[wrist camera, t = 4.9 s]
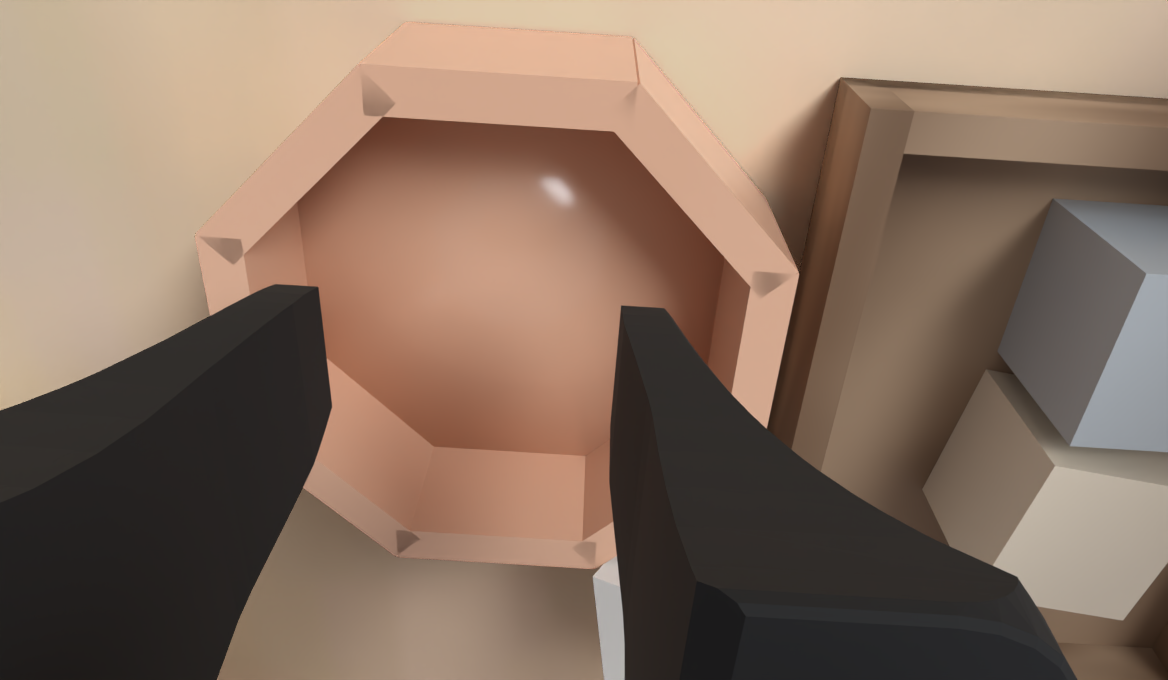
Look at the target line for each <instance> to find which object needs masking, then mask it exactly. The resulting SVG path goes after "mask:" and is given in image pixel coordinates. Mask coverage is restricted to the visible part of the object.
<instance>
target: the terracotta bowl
mask: <svg viewBox="0 0 1168 680" xmlns="http://www.w3.org/2000/svg"><path fill="white" fill-rule="evenodd" d="M195 234H196V235H195V241H196V246H197V251H198V256H199V262H200V267H201V272H202V277H203V282H204V287H205V292H206V298H207V303H208V308H209V313H210V316H211V315H213V314H215V313H217V312H218V311H220V310H222V309H224V308H226V307H228V306H230V305H232V304H233V303H235V302H237V301H239V300H241V299H243V298H245V297H247V296H249V295H251V294H253V293H255V292H257V291H259V290H261V289H264V288H266V287H269V286H271V285H274V284H283V285H299V286H316V287H318V288H319V296H320V305H321V314H322V322H323V331H324V339H325V348H326V357H327V365H328V374H329V382H330V391H331V400H332V409H331V413H330V416H329V419H328V423H327V426H326V429H325V433H324V436H323V439H322V442H321V445H320V448H319V451H318V454H317V457H316V460H315V463H314V465H313V467H312V470H311V472H310V474H309V476H308V478H307V480H306V482H305V484H304V486H303V488H304V489H305V490H307V491H308V492H309V493H311V494H312V495H313V496H315V497H316V498H317V499H319V500H320V501H322V502H323V503H324V504H326V505H327V506H328V507H330V508H331V509H332V510H334V511H335V512H336V513H338V514H339V515H340V516H342V517H343V518H344V519H346V520H347V521H348V522H350V523H351V524H352V525H354V526H355V527H356V528H358V529H359V530H360V531H362V532H363V533H365V534H366V535H367V536H369V537H370V538H371V539H373V540H374V541H375V542H377V543H378V544H379V545H381V546H382V547H383V548H385V549H386V550H387V551H389V552H390V553H391V554H393V555H394V556H395V557H396V556H397V557H401V558H418V559H435V560H451V561H468V562H484V563H501V564H518V565H534V566H551V567H567V568H584V569H594V567H595V568H598V567H600V566H601V565H603V564H604V563H606V562H608V561H609V560H611V559H613V558H614V557H616V556H617V553H616V544H615V534H614V525H613V515H612V505H611V495H610V485H609V464H610V422H611V411H612V400H613V389H614V378H615V367H616V356H617V345H618V334H619V323H620V313H621V305H622V306H638V307H655V308H665V309H666V311H667V312H668V313H669V314H670V315H671V317H672V318H673V319H674V321H675V322H676V324H677V325H678V327H679V328H680V330H681V331H682V332H683V334H684V335H685V337H686V338H687V339H688V341H689V342H690V344H691V345H692V346H693V348H694V349H695V350H696V352H697V353H698V354H699V356H700V357H701V358H702V359H703V361H704V362H705V363H706V365H707V366H708V367H709V368H710V369H711V371H712V372H713V373H714V374H715V375H716V377H717V378H718V379H719V380H720V381H721V383H722V384H723V385H724V386H725V387H726V389H727V390H728V391H729V392H730V393H731V394H732V395H733V396H734V397H735V398H736V399H737V400H738V401H739V402H740V403H741V404H742V405H743V406H744V407H745V408H746V409H747V411H748V412H749V413H750V414H751V415H752V416H753V417H754V418H756V419H757V420H758V421H759V422H760V423H761V424H762V425H763V426H764V427H765V428H766V429H767V425H768V420H769V416H770V411H771V406H772V401H773V397H774V392H775V387H776V382H777V378H778V373H779V368H780V363H781V359H782V354H783V349H784V344H785V340H786V335H787V330H788V325H789V321H790V316H791V311H792V306H793V302H794V297H795V292H796V287H797V283H798V278H799V273H798V269H797V267H796V265H795V262H794V260H793V258H792V256H791V253H790V251H789V249H788V247H787V244H786V242H785V240H784V238H783V235H782V233H781V231H780V229H779V226H778V224H777V222H776V220H775V217H774V215H773V213H772V211H771V208H770V206H769V204H768V202H767V199H766V198H765V196H764V195H763V194H762V193H761V192H760V190H759V189H758V188H757V187H756V185H755V184H754V183H753V182H752V181H751V179H750V178H749V177H748V176H747V175H746V173H745V172H744V171H743V170H742V168H741V167H740V166H739V165H738V164H737V162H736V161H735V160H734V159H733V157H732V156H731V155H730V154H729V153H728V151H727V150H726V149H725V148H724V147H723V145H722V144H721V143H720V142H719V140H718V139H717V138H716V137H715V136H714V134H713V133H712V132H711V131H710V129H709V128H708V127H707V126H706V125H705V123H704V122H703V121H702V120H701V118H700V117H699V116H698V115H697V114H696V112H695V111H694V110H693V109H692V108H691V106H690V105H689V104H688V103H687V101H686V100H685V99H684V98H683V97H682V95H681V94H680V93H679V92H678V90H677V89H676V88H675V87H674V86H673V84H672V83H671V82H670V81H669V80H668V78H667V77H666V76H665V75H664V73H663V72H662V71H661V70H660V69H659V67H658V66H657V65H656V64H655V62H654V61H653V60H652V59H651V58H650V56H649V55H648V54H647V53H646V51H645V50H644V49H643V48H642V47H641V45H640V44H639V43H638V42H637V41H636V39H635V38H633V39H632V37H628V36H613V35H598V34H583V33H568V32H552V31H537V30H522V29H507V28H491V27H476V26H461V25H446V24H431V23H415V22H406V23H404V24H402V25H401V26H400V27H399V28H398V29H397V30H396V31H395V32H393V33H392V34H391V35H390V36H389V37H388V38H387V39H386V40H384V41H383V42H382V43H381V44H380V45H379V46H378V47H377V48H375V49H374V50H373V51H372V52H371V53H370V54H369V55H368V56H366V57H365V58H364V59H363V60H362V61H361V62H360V63H359V64H357V65H356V66H355V68H354V69H353V70H352V71H351V72H350V73H349V74H348V75H347V76H346V77H345V78H344V79H343V80H342V81H341V82H340V83H339V84H338V85H337V86H336V87H335V88H334V89H333V90H332V92H331V93H330V94H329V95H328V96H327V97H326V98H325V99H324V100H323V101H322V102H321V103H320V104H319V105H318V106H317V107H316V108H315V109H314V110H313V111H312V112H311V113H310V114H309V116H308V117H307V118H306V119H305V120H304V121H303V122H302V123H301V124H300V125H299V126H298V127H297V128H296V129H295V130H294V131H293V132H292V133H291V134H290V135H289V136H288V137H287V138H286V139H285V141H284V142H283V143H282V144H281V145H280V146H279V147H278V148H277V149H276V150H275V151H274V152H273V153H272V154H271V155H270V156H269V157H268V158H267V159H266V160H265V161H264V162H263V163H262V165H261V166H260V167H259V168H258V169H257V170H256V171H255V172H254V173H253V174H252V175H251V176H250V177H249V178H248V179H247V180H246V181H245V182H244V183H243V184H242V185H241V186H240V187H239V189H238V190H237V191H236V192H235V193H234V194H233V195H232V196H231V197H230V198H229V199H228V200H227V201H226V202H225V203H224V204H223V205H222V206H221V207H220V208H219V209H218V210H217V211H216V213H215V214H214V215H213V216H212V217H211V218H210V219H209V220H208V221H207V222H206V223H205V224H204V225H203V226H202V227H201V228H200V229H199V230H198V231H197V232H196V233H195Z"/></svg>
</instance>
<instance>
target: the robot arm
mask: <svg viewBox="0 0 1168 680" xmlns="http://www.w3.org/2000/svg"><path fill="white" fill-rule="evenodd" d="M331 409H332V400H331V391H330V382H329V374H328V365H327V357H326V348H325V339H324V331H323V322H322V314H321V305H320V296H319V288H318V287H316V286H299V285H283V284H274V285H271V286H269V287H266V288H264V289H261V290H259V291H257V292H255V293H253V294H251V295H249V296H247V297H245V298H243V299H241V300H239V301H237V302H235V303H233V304H232V305H230V306H228V307H226V308H224V309H222V310H220V311H218V312H217V313H215V314H213V315H211V316H209V317H207V318H205V319H204V320H202V321H200V322H198V323H196V324H194V325H192V326H190V327H189V328H187V329H185V330H183V331H181V332H179V333H177V334H175V335H174V336H172V337H170V338H168V339H166V340H164V341H162V342H160V343H158V344H156V345H154V346H152V347H150V348H147V349H145V350H143V351H141V352H139V353H137V354H135V355H133V356H131V357H129V358H127V359H125V360H123V361H121V362H118V363H116V364H114V365H112V366H110V367H108V368H106V369H104V370H102V371H100V372H98V373H95V374H93V375H91V376H88V377H86V378H84V379H82V380H79V381H77V382H74V383H72V384H70V385H67V386H65V387H62V388H60V389H57V390H55V391H52V392H49V393H47V394H44V395H42V396H39V397H36V398H34V399H31V400H28V401H26V402H23V403H21V404H18V405H15V406H12V407H9V408H6V409H4V410H1V411H0V680H217V677H218V675H219V672H220V669H221V666H222V664H223V661H224V658H225V655H226V653H227V650H228V647H229V645H230V642H231V639H232V636H233V634H234V631H235V628H236V625H237V623H238V620H239V618H240V615H241V613H242V611H243V609H244V606H245V604H246V602H247V600H248V597H249V595H250V593H251V591H252V589H253V587H254V585H255V583H256V581H257V579H258V577H259V575H260V573H261V571H262V569H263V567H264V565H265V563H266V561H267V559H268V557H269V555H270V553H271V551H272V549H273V547H274V545H275V543H276V541H277V539H278V537H279V535H280V533H281V531H282V529H283V527H284V525H285V523H286V521H287V519H288V517H289V515H290V513H291V511H292V509H293V507H294V505H295V503H296V501H297V498H298V496H299V494H300V492H301V490H302V488H303V486H304V484H305V482H306V480H307V478H308V476H309V474H310V472H311V470H312V467H313V465H314V463H315V460H316V457H317V454H318V451H319V448H320V445H321V442H322V439H323V436H324V433H325V429H326V426H327V423H328V419H329V416H330V413H331ZM609 485H610V495H611V505H612V515H613V525H614V534H615V544H616V553H617V562H618V572H619V581H620V591H621V600H622V610H623V625H624V643H625V680H1077V678H1076V676H1075V674H1074V672H1073V671H1072V669H1071V667H1070V665H1069V663H1068V662H1067V660H1066V658H1065V656H1064V655H1063V653H1062V651H1061V649H1060V647H1059V645H1058V643H1057V641H1056V639H1055V637H1054V635H1053V633H1052V632H1051V630H1050V628H1049V626H1048V624H1047V622H1046V620H1045V619H1044V617H1043V615H1042V614H1041V612H1040V611H1039V609H1038V608H1037V606H1036V605H1035V603H1034V601H1033V600H1032V598H1031V597H1030V595H1029V594H1028V592H1027V591H1026V589H1025V588H1024V586H1023V585H1022V583H1021V582H1020V580H1019V579H1018V577H1017V576H1015V575H1012V574H1010V573H1008V572H1006V571H1003V570H1001V569H999V568H997V567H995V566H992V565H990V564H988V563H986V562H983V561H981V560H979V559H977V558H975V557H972V556H970V555H968V554H966V553H963V552H961V551H959V550H957V549H955V548H952V547H950V546H948V545H946V544H943V543H941V542H939V541H937V540H935V539H933V538H931V537H929V536H927V535H925V534H923V533H921V532H919V531H917V530H916V529H914V528H912V527H910V526H908V525H906V524H905V523H903V522H901V521H899V520H897V519H895V518H894V517H892V516H890V515H888V514H886V513H884V512H883V511H881V510H879V509H878V508H876V507H874V506H873V505H871V504H869V503H868V502H866V501H864V500H863V499H861V498H859V497H858V496H856V495H854V494H853V493H851V492H850V491H848V490H847V489H845V488H844V487H843V486H841V485H840V484H838V483H837V482H835V481H834V480H832V479H831V478H829V477H828V476H826V475H825V474H823V473H822V472H820V471H819V470H817V469H816V468H815V467H813V466H812V465H811V464H809V463H808V462H807V461H805V460H804V459H803V458H801V457H800V456H799V455H797V454H796V453H795V452H794V451H793V450H791V449H790V448H789V447H788V446H787V445H785V444H784V443H783V442H782V441H781V440H779V439H778V438H777V437H776V436H775V435H773V434H772V433H771V432H770V431H769V430H767V429H766V428H765V427H764V426H763V425H762V424H761V423H760V422H759V421H758V420H757V419H756V418H754V417H753V416H752V415H751V414H750V413H749V412H748V411H747V409H746V408H745V407H744V406H743V405H742V404H741V403H740V402H739V401H738V400H737V399H736V398H735V397H734V396H733V395H732V394H731V393H730V392H729V391H728V390H727V389H726V387H725V386H724V385H723V384H722V383H721V381H720V380H719V379H718V378H717V377H716V375H715V374H714V373H713V372H712V371H711V369H710V368H709V367H708V366H707V365H706V363H705V362H704V361H703V359H702V358H701V357H700V356H699V354H698V353H697V352H696V350H695V349H694V348H693V346H692V345H691V344H690V342H689V341H688V339H687V338H686V337H685V335H684V334H683V332H682V331H681V330H680V328H679V327H678V325H677V324H676V322H675V321H674V319H673V318H672V317H671V315H670V314H669V313H668V312H667V311H666V309H665V308H655V307H638V306H622V305H621V313H620V323H619V334H618V345H617V356H616V367H615V378H614V389H613V400H612V411H611V422H610V464H609Z"/></svg>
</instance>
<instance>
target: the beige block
mask: <svg viewBox="0 0 1168 680" xmlns="http://www.w3.org/2000/svg"><path fill="white" fill-rule="evenodd" d="M922 490H923V492H924V494H925V496H926V498H927V500H928V502H929V505H930V507H931V509H932V511H933V513H934V515H935V517H936V519H937V521H938V523H939V525H940V527H941V529H942V531H943V533H944V535H945V538H946V540H947V542H948V544H949V546H950V547H952V548H955V549H957V550H959V551H961V552H963V553H966V554H968V555H970V556H972V557H975V558H977V559H979V560H981V561H983V562H986V563H988V564H990V565H992V566H995V567H997V568H999V569H1001V570H1003V571H1006V572H1008V573H1010V574H1012V575H1015V576H1017V577H1018V579H1019V580H1020V582H1021V583H1022V585H1023V586H1024V588H1025V589H1026V591H1027V592H1028V594H1029V595H1030V597H1031V598H1032V600H1033V601H1034V603H1035V605H1036V606H1038V607H1044V608H1050V609H1056V610H1062V611H1068V612H1074V613H1080V614H1086V615H1092V616H1098V617H1104V618H1110V619H1116V620H1122V621H1123V620H1124V618H1125V617H1126V616H1127V615H1128V613H1129V612H1130V611H1131V609H1132V608H1133V607H1134V606H1135V604H1136V603H1137V602H1138V600H1139V599H1140V598H1141V597H1142V595H1143V594H1144V593H1145V591H1146V590H1147V589H1148V587H1149V586H1150V585H1151V584H1152V582H1153V581H1154V580H1155V578H1156V577H1157V576H1158V575H1159V573H1160V572H1161V571H1162V569H1163V568H1164V567H1165V565H1166V564H1167V563H1168V452H1156V451H1139V450H1123V449H1107V448H1091V447H1075V446H1069V445H1068V443H1067V442H1066V441H1065V439H1064V438H1063V437H1062V435H1061V434H1060V433H1059V432H1058V430H1057V429H1056V428H1055V426H1054V425H1053V424H1052V422H1051V421H1050V420H1049V418H1048V417H1047V416H1046V415H1045V413H1044V412H1043V411H1042V409H1041V408H1040V407H1039V405H1038V404H1037V403H1036V401H1035V400H1034V399H1033V397H1032V396H1031V395H1030V394H1029V392H1028V391H1027V390H1026V388H1025V387H1024V386H1023V384H1022V383H1021V382H1020V380H1019V379H1018V378H1017V377H1016V375H1013V374H1008V373H1003V372H997V371H992V370H987V369H986V370H985V372H984V374H983V376H982V378H981V380H980V382H979V383H978V385H977V387H976V389H975V391H974V393H973V395H972V397H971V399H970V400H969V402H968V404H967V406H966V408H965V410H964V412H963V414H962V415H961V417H960V419H959V421H958V423H957V425H956V427H955V429H954V430H953V432H952V434H951V436H950V438H949V440H948V442H947V444H946V446H945V447H944V449H943V451H942V453H941V455H940V457H939V459H938V461H937V462H936V464H935V466H934V468H933V470H932V472H931V474H930V476H929V478H928V479H927V481H926V483H925V485H924V487H923V489H922Z"/></svg>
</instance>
